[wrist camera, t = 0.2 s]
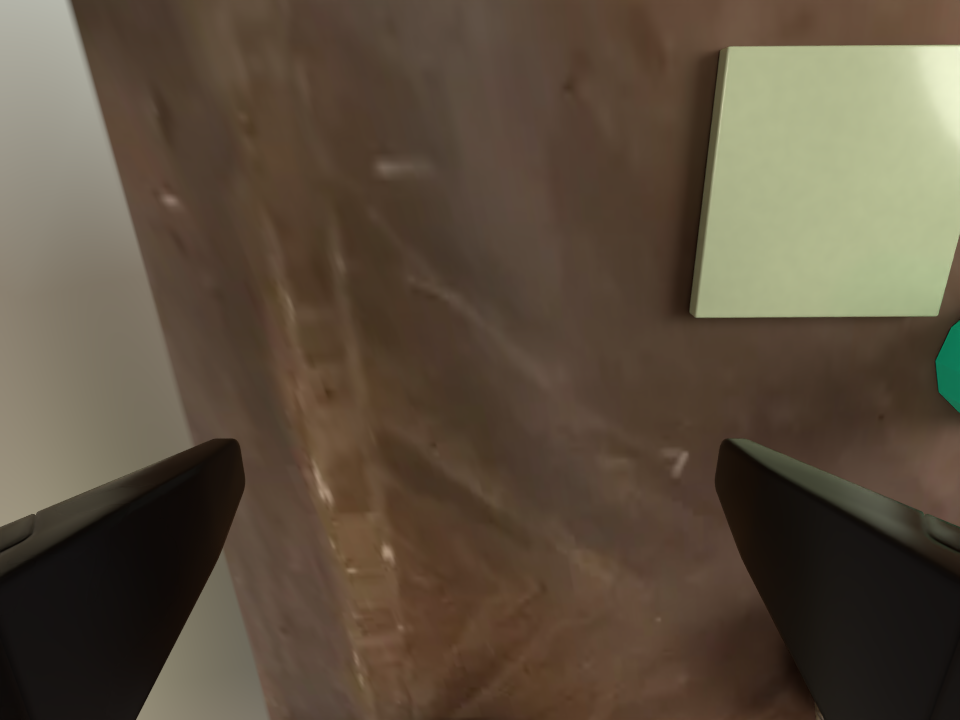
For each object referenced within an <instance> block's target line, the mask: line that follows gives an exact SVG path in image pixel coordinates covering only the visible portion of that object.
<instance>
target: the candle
mask: <svg viewBox="0 0 960 720" xmlns="http://www.w3.org/2000/svg"><path fill="white" fill-rule="evenodd" d="M936 371H937V381H938V390H939V393H940V394H941V395H942V396H943V397H944V398H945V399H946V400H947V401H948V402H949V403H950V404H951V405H952V406H953V407H954V408H955V409H956V410H957V411H958V412H959V413H960V321H958V322H957V323H956V324H955V325H954V326H953V327H951V329H950V331H949V334H948V336H947V338H946V340H945V342H944V344H943V346H942V348H941V350H940V353H939V355H938V357H937V359H936Z"/></svg>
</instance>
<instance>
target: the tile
mask: <svg viewBox="0 0 960 720" xmlns="http://www.w3.org/2000/svg"><path fill="white" fill-rule="evenodd" d="M959 234H960V45H840V46H729V47H726V48H724V49H721V51H720V56H719V65H718V73H717V82H716V90H715V99H714V107H713V116H712V124H711V133H710V141H709V149H708V158H707V166H706V175H705V183H704V192H703V200H702V209H701V217H700V226H699V234H698V243H697V251H696V260H695V268H694V277H693V285H692V294H691V302H690V310H689V312H690V314H691V315H693V316H694V317H695V318H757V317H919V316H938V313H939V309H940V306H941V302H942V298H943V294H944V291H945V287H946V283H947V279H948V276H949V272H950V268H951V264H952V261H953V257H954V253H955V249H956V246H957V242H958V238H959Z"/></svg>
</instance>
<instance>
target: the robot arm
mask: <svg viewBox="0 0 960 720" xmlns="http://www.w3.org/2000/svg"><path fill="white" fill-rule="evenodd" d="M244 488H245V474H244V468H243V462H242V455H241V449H240V445H239V443H238V441H237V440H235V439H212V440H210V441H207V442H205V443H202V444H200V445H198V446H195V447H193V448H190V449H188V450H186V451H183V452H181V453H178V454H176V455H174V456H171V457H169V458H166V459H164V460H161V461H159V462H157V463H154V464H152V465H149V466H147V467H145V468H142V469H140V470H138V471H135V472H132V473H130V474H128V475H125V476H123V477H120V478H118V479H116V480H113V481H111V482H108V483H106V484H104V485H101V486H99V487H96V488H94V489H91V490H89V491H87V492H84V493H82V494H79V495H77V496H75V497H72V498H70V499H68V500H65V501H63V502H60V503H58V504H55V505H53V506H50V507H48V508H46V509H43V510H41V511H38V512H37V514H36V515H35V514H31V515H29V516H26V517H24V518H21V519H19V520H16V521H14V522H12V523H9V524H7V525H4V526H2V527H0V720H136V719H137V717H138V715H139V713H140V711H141V709H142V707H143V705H144V703H145V701H146V699H147V697H148V695H149V693H150V691H151V689H152V687H153V685H154V684H155V682H156V680H157V678H158V676H159V674H160V672H161V670H162V668H163V666H164V664H165V662H166V660H167V658H168V656H169V654H170V652H171V650H172V648H173V646H174V644H175V643H176V641H177V639H178V637H179V635H180V633H181V631H182V629H183V627H184V625H185V623H186V621H187V619H188V617H189V615H190V613H191V611H192V609H193V607H194V606H195V604H196V601H197V600H198V598H199V596H200V594H201V592H202V590H203V588H204V586H205V584H206V582H207V580H208V578H209V576H210V574H211V572H212V570H213V568H214V566H215V564H216V562H217V560H218V558H219V555H220V553H221V551H222V548H223V546H224V543H225V540H226V538H227V535H228V532H229V529H230V527H231V524H232V521H233V519H234V516H235V513H236V511H237V508H238V505H239V502H240V500H241V497H242V494H243V491H244ZM715 488H716V492H717V494H718V497H719V500H720V502H721V505H722V508H723V511H724V513H725V516H726V519H727V521H728V524H729V527H730V529H731V532H732V535H733V538H734V540H735V543H736V546H737V548H738V551H739V553H740V556H741V558H742V560H743V562H744V564H745V566H746V568H747V570H748V572H749V574H750V576H751V578H752V580H753V582H754V584H755V586H756V588H757V590H758V592H759V594H760V596H761V598H762V600H763V602H764V604H765V606H766V607H767V609H768V611H769V613H770V615H771V617H772V619H773V621H774V623H775V625H776V627H777V629H778V631H779V633H780V635H781V637H782V639H783V641H784V643H785V645H786V646H787V648H788V650H789V652H790V654H791V656H792V658H793V660H794V662H795V664H796V666H797V668H798V670H799V672H800V674H801V676H802V678H803V680H804V682H805V684H806V685H807V687H808V689H809V691H810V693H811V695H812V697H813V699H814V701H815V703H816V705H817V707H818V709H819V711H820V713H821V715H822V717H823V719H824V720H960V527H958V526H956V525H953V524H951V523H948V522H946V521H944V520H941V519H939V518H936V517H934V516H932V515H929V514H925V515H924V514H923V512H922V511H919V510H917V509H914V508H912V507H910V506H907V505H905V504H902V503H900V502H897V501H895V500H893V499H890V498H888V497H885V496H883V495H881V494H878V493H876V492H873V491H871V490H869V489H866V488H864V487H861V486H859V485H856V484H854V483H852V482H849V481H847V480H844V479H842V478H840V477H837V476H835V475H832V474H830V473H828V472H825V471H823V470H820V469H818V468H815V467H813V466H811V465H808V464H806V463H803V462H801V461H799V460H796V459H794V458H791V457H789V456H786V455H784V454H782V453H779V452H777V451H774V450H772V449H770V448H767V447H765V446H762V445H760V444H758V443H755V442H753V441H750V440H748V439H725V440H723V441H722V443H721V445H720V449H719V455H718V462H717V468H716V474H715Z"/></svg>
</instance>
